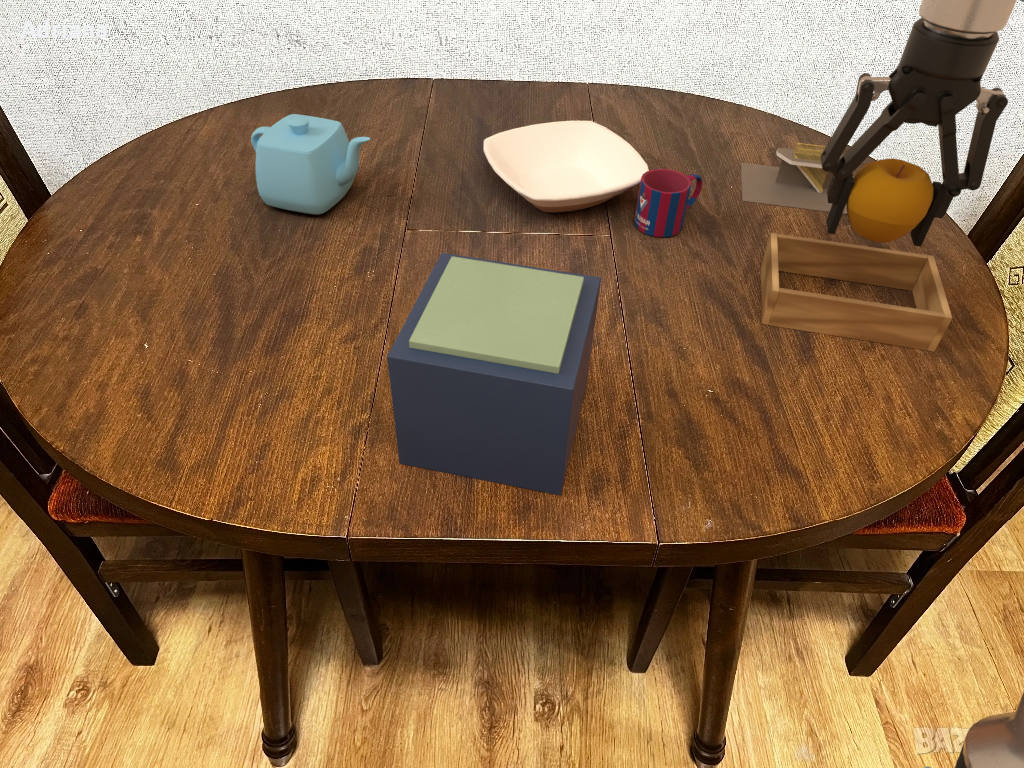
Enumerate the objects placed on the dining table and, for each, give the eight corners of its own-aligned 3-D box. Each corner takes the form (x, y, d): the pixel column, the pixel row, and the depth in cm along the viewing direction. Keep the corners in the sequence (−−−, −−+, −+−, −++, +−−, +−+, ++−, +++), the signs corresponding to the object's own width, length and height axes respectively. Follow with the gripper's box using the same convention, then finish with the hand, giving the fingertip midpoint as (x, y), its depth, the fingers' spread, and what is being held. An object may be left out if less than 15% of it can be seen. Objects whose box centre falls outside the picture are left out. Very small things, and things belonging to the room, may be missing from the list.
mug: (625, 217, 108) (631, 173, 103) (684, 203, 111) (693, 160, 106) (650, 242, 103) (658, 197, 98) (711, 226, 106) (722, 182, 102)
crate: (561, 495, 72) (573, 389, 62) (399, 463, 74) (386, 356, 64) (587, 382, 83) (601, 277, 73) (445, 357, 85) (441, 252, 76)
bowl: (592, 144, 123) (596, 113, 119) (663, 211, 109) (669, 178, 105) (467, 167, 117) (467, 135, 113) (525, 241, 102) (526, 207, 99)
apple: (838, 252, 84) (866, 179, 78) (827, 213, 90) (852, 142, 84) (919, 261, 83) (953, 187, 77) (902, 221, 90) (933, 150, 84)
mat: (558, 374, 63) (559, 367, 63) (409, 347, 65) (408, 340, 65) (583, 283, 73) (584, 276, 72) (451, 262, 74) (451, 256, 74)
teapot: (359, 232, 103) (349, 153, 95) (240, 208, 106) (221, 130, 98) (395, 188, 112) (388, 112, 104) (284, 167, 115) (270, 93, 107)
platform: (869, 216, 110) (886, 175, 105) (742, 200, 112) (753, 159, 107) (859, 176, 118) (874, 136, 113) (741, 162, 120) (751, 122, 116)
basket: (934, 351, 88) (952, 318, 85) (761, 324, 91) (772, 290, 88) (917, 288, 97) (933, 255, 94) (760, 265, 100) (770, 232, 97)
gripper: (1069, 24, 72) (965, 230, 88) (836, 0, 75) (775, 204, 91) (1095, 51, 67) (979, 266, 83) (843, 25, 70) (777, 237, 86)
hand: (872, 233), depth 87 cm, fingers closed on apple, 9 cm apart
